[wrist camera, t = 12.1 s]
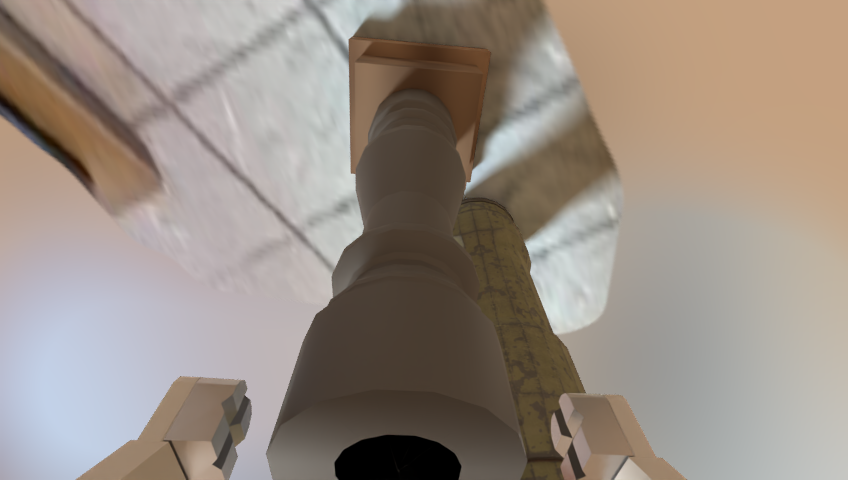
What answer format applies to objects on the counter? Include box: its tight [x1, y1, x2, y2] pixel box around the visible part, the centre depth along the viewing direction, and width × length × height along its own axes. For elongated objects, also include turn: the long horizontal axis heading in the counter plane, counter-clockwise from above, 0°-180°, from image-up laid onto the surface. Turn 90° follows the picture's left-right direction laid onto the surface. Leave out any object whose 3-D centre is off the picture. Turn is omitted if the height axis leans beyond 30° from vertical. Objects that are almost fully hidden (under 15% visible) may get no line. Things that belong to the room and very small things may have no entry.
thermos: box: [453, 198, 586, 480], centre depth 27 cm, size 9×12×35 cm
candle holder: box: [266, 88, 528, 480], centre depth 19 cm, size 6×6×25 cm
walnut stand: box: [349, 37, 491, 190], centre depth 32 cm, size 11×11×6 cm
